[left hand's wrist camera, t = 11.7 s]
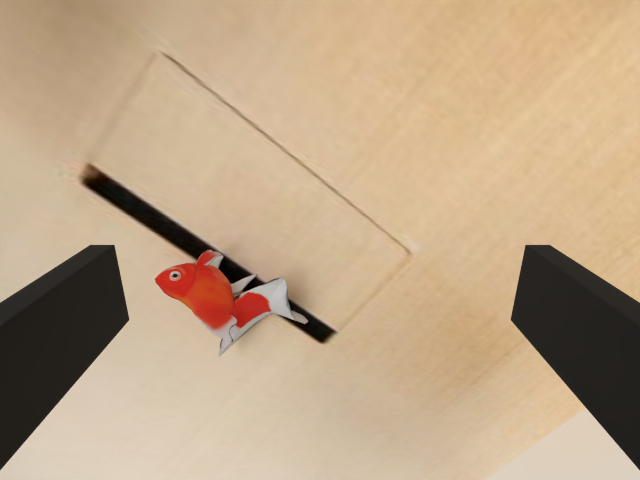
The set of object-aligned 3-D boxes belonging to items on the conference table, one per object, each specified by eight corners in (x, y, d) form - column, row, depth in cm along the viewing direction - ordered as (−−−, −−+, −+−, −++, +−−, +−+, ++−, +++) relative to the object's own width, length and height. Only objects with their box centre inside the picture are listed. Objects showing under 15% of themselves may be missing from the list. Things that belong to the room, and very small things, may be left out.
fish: (213, 198, 35) (198, 294, 29) (326, 264, 45) (332, 347, 38) (151, 249, 40) (128, 339, 34) (264, 298, 50) (261, 375, 44)
